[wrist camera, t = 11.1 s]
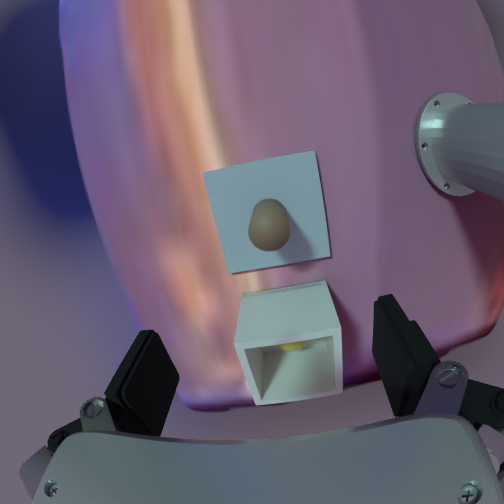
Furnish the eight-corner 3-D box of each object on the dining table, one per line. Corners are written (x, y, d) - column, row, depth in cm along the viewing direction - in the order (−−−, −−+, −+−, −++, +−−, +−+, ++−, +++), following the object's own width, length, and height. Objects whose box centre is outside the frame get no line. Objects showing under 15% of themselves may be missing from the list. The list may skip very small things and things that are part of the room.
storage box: (325, 280, 32) (341, 327, 24) (331, 343, 36) (342, 392, 28) (242, 294, 34) (233, 343, 25) (259, 354, 37) (255, 405, 29)
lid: (313, 150, 27) (324, 153, 21) (328, 252, 31) (341, 279, 25) (204, 172, 29) (187, 181, 23) (230, 269, 33) (221, 299, 27)
